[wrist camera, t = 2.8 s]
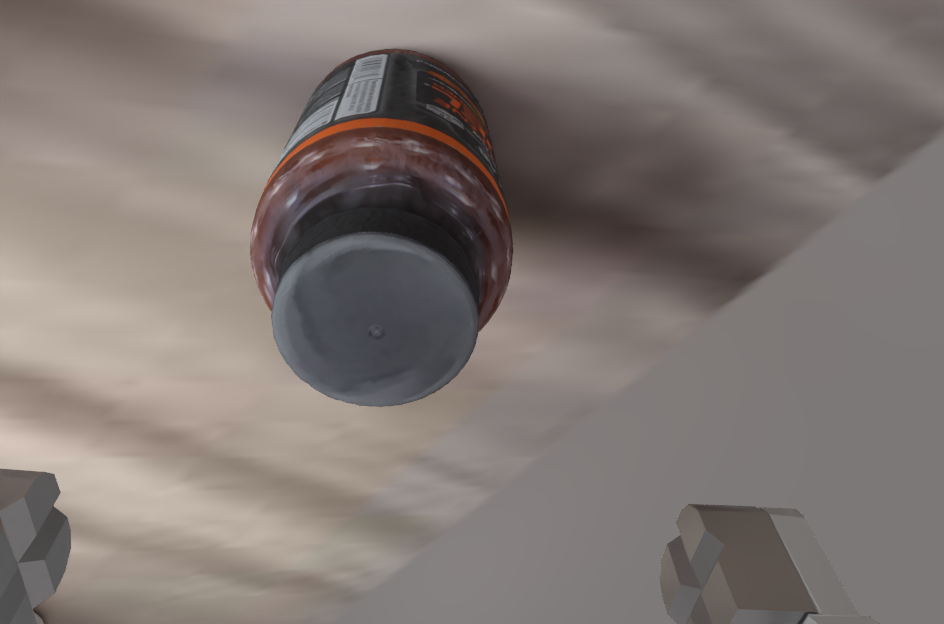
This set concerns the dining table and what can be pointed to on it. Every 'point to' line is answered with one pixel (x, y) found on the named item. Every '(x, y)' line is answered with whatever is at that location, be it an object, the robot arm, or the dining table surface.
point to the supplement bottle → (383, 231)
